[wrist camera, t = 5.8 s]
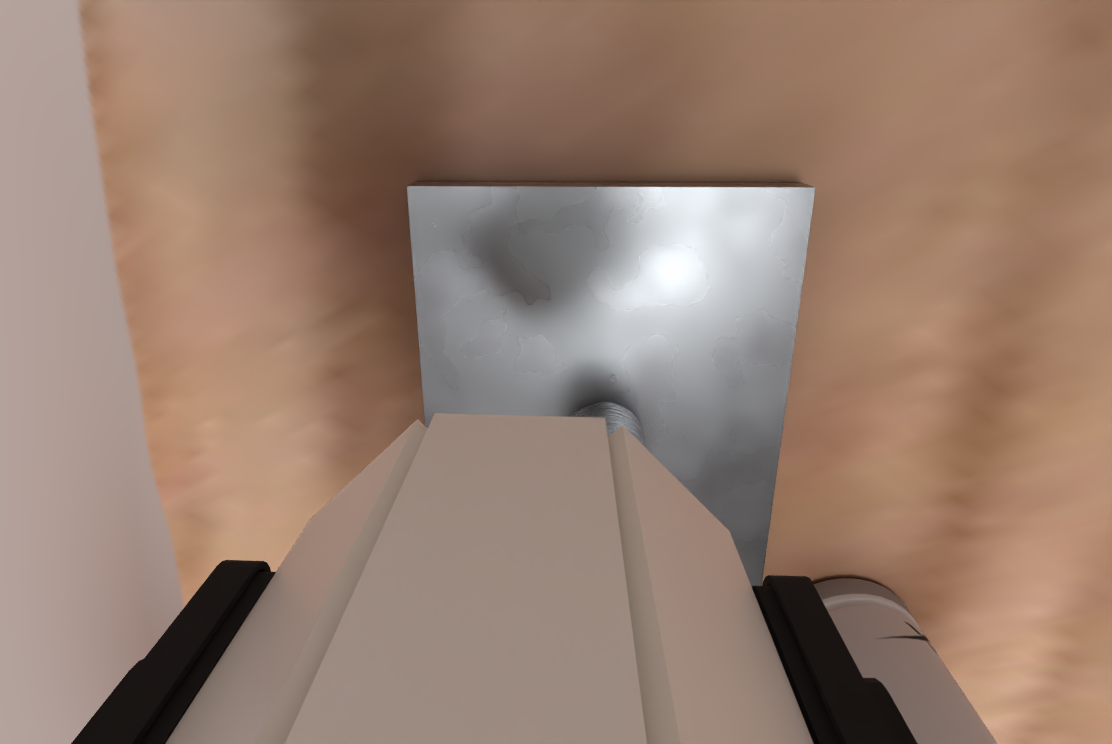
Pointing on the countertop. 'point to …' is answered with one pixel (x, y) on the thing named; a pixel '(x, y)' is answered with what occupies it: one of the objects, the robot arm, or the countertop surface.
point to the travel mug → (902, 662)
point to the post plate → (622, 319)
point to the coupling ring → (504, 605)
